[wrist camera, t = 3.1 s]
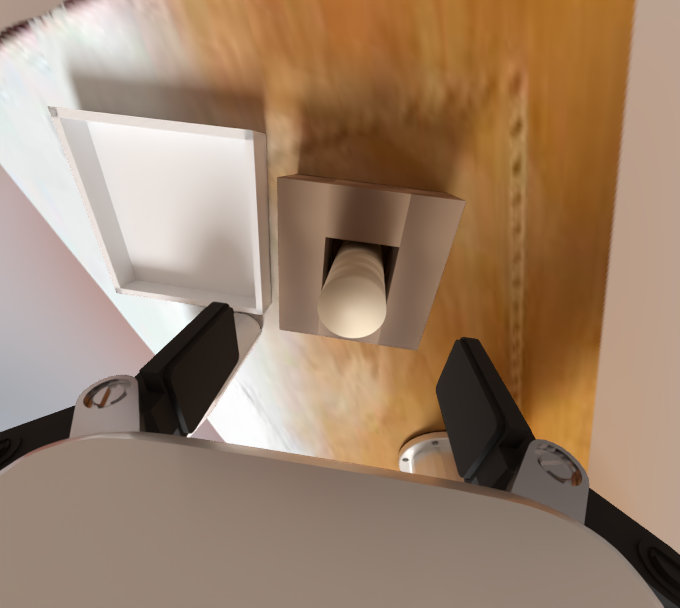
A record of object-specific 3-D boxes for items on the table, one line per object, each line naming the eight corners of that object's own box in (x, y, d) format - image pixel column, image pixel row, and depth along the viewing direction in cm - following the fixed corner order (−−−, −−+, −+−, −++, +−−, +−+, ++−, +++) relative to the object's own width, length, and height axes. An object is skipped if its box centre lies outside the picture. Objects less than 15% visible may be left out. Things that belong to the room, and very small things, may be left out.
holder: (446, 192, 20) (466, 201, 16) (409, 319, 26) (417, 350, 22) (297, 173, 21) (277, 177, 16) (294, 302, 27) (279, 329, 22)
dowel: (385, 236, 22) (393, 284, 14) (377, 277, 24) (379, 342, 16) (340, 230, 23) (319, 273, 14) (336, 272, 25) (315, 332, 16)
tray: (266, 133, 20) (252, 130, 17) (271, 302, 27) (262, 315, 25) (82, 112, 20) (47, 106, 18) (136, 282, 28) (116, 292, 26)
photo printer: (236, 304, 28) (150, 394, 17) (269, 327, 29) (207, 426, 18) (198, 355, 32) (111, 453, 21) (228, 374, 33) (159, 475, 22)
